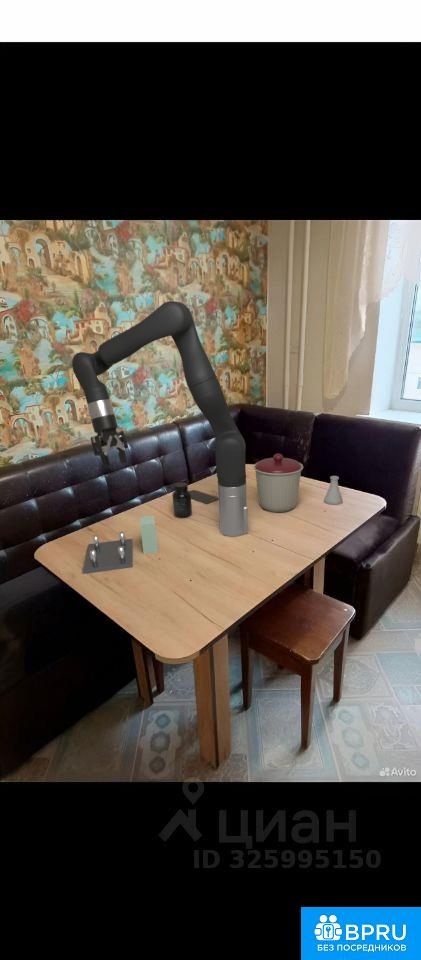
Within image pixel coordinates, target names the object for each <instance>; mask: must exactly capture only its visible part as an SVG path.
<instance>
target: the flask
mask: <svg viewBox="0 0 421 960" xmlns="http://www.w3.org/2000/svg"><path fill="white" fill-rule="evenodd" d="M339 478H340V477H339V476H337V475H332V476H331V475H330V478H329V479H330V483H329V486H328V490H327V491H326V492H327V493H326V494H325V496H324V498H323V503H325V502H326V503H325V504H329V505H336V504H338V505H340V504H343V498H342V494H341V490H340V487H339V481H338V480H339Z"/></svg>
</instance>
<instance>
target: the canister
mask: <svg viewBox="0 0 421 960" xmlns="http://www.w3.org/2000/svg"><path fill="white" fill-rule="evenodd" d="M303 465H304V464H302V463H301V462H299V461H298V460H296V459H293V458H288V457H284V456H283V454H281V453H275V454H274V455H273V457H269V458H268V457H267V458H263V459H261V460H259V461H258V462H256V463H255V464H253V465H252V467H253V470H254V471H255V479H256V487H257V494H258V501H259V505H261V507H262V508H263V509H264V510H266V511H267V512H273V513H285V512H289V511H291V510H292V509H294V507H295V506H296V505H297V504H296V503H297V500H298V495H299V490H300V489H299V488H300V481H301V472H302V471H303V469H304V466H303Z"/></svg>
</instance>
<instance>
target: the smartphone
mask: <svg viewBox="0 0 421 960" xmlns="http://www.w3.org/2000/svg"><path fill="white" fill-rule="evenodd" d="M189 491H190V493H191V500H193V501H196V502H199V503H202V504H204V505H209V504H211V503H214V502H217V501H219V497H218V496H215V495H213V494H210V493H206V492H205V493H204V492H202V491H199V490H196V489H192V490H189Z"/></svg>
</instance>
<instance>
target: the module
mask: <svg viewBox="0 0 421 960" xmlns="http://www.w3.org/2000/svg"><path fill="white" fill-rule="evenodd" d="M139 526H140V535H141V544H142V551H143V555H148V554H156V553H159V547H158V536H157V528H156V519H155V515H146V516H145V515H144V516H139Z"/></svg>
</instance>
